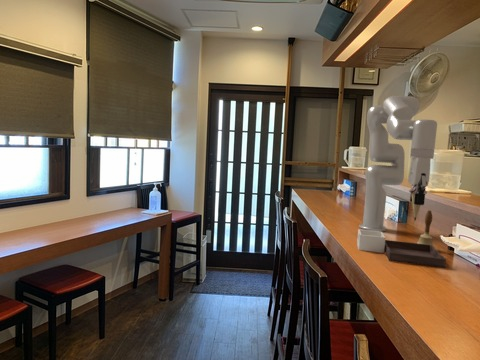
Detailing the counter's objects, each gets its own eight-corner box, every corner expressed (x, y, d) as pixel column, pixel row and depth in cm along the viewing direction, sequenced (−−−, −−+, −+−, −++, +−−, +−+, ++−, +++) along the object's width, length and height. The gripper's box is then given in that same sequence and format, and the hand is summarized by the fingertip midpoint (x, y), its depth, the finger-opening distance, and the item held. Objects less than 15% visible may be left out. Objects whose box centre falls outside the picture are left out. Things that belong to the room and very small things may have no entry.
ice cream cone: (414, 223, 124) (418, 182, 123) (402, 219, 130) (406, 180, 128) (426, 223, 126) (431, 182, 124) (415, 219, 131) (419, 180, 130)
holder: (356, 243, 143) (358, 229, 142) (380, 246, 141) (382, 231, 140) (358, 249, 134) (360, 234, 134) (383, 252, 132) (385, 237, 131)
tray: (381, 246, 140) (382, 239, 140) (430, 252, 136) (431, 245, 135) (389, 260, 123) (389, 252, 123) (445, 267, 118) (446, 259, 118)
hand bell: (440, 250, 139) (445, 211, 137) (428, 253, 135) (433, 213, 133) (421, 245, 146) (425, 207, 144) (409, 247, 142) (413, 209, 140)
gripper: (405, 153, 134) (401, 198, 136) (416, 154, 118) (410, 206, 120) (427, 154, 132) (421, 200, 134) (440, 155, 116) (434, 208, 118)
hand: (416, 202), depth 127 cm, fingers closed on ice cream cone, 5 cm apart
